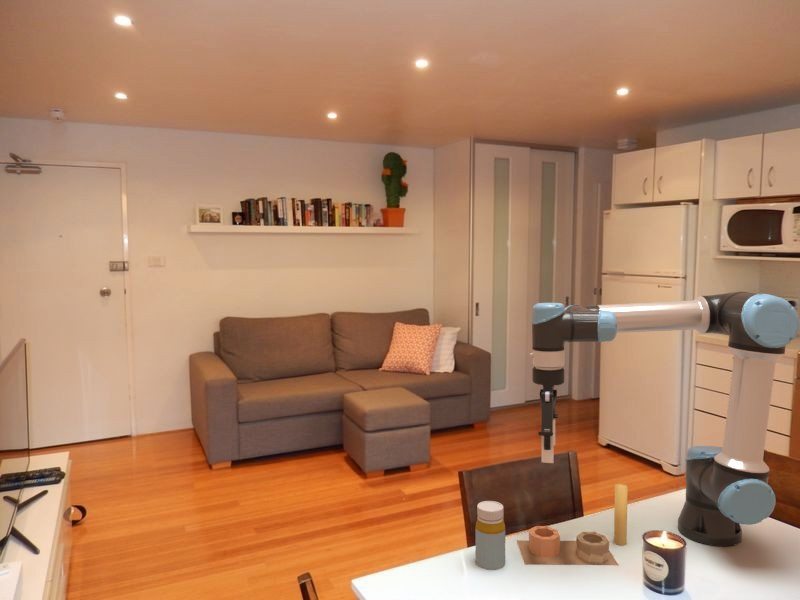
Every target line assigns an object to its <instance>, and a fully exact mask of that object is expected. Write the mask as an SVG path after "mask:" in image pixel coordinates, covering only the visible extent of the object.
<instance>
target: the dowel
mask: <svg viewBox="0 0 800 600" xmlns="http://www.w3.org/2000/svg"><path fill="white" fill-rule="evenodd" d="M628 491H629V490H628V485H626V484H625V483H615V484H614V517H613V519H614V521H613V524H614V525H613V544H614V545H616V546H621V547H623V546H627V544H628V543H627V541H628V540H627V537H628V534H627V533H628Z"/></svg>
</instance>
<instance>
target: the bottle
mask: <svg viewBox="0 0 800 600" xmlns="http://www.w3.org/2000/svg"><path fill="white" fill-rule="evenodd" d="M476 506H477V508H476V510H477V511H476V512H477V513H476V514H477V515H476V516H477V520H476V521H475V527H474V528H475V565H476V566H478V567H479V568H480V569H484V570H489V571H496V570H500V569H502V568H504V567H505V565H506V525H505V524H506V523H505V522H504V515H505V514H504V512H505V511H504V505H503V504H502V503H500V502H499V501H494V500H484V501H480V502H479V503H477V505H476Z"/></svg>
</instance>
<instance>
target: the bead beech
mask: <svg viewBox="0 0 800 600" xmlns="http://www.w3.org/2000/svg"><path fill="white" fill-rule="evenodd" d="M575 537H576V540H575V541H576V554H577V556H578V558H579V559H580V560H582V561H585V562H587V563H590V564H603V563H605V562H606V561H607V560H609V551H610V541H609V539H608V538H607V536H606V535H604V534H601V533H598V532H596V531H582V532H580V533H578V534H576V535H575Z"/></svg>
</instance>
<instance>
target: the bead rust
mask: <svg viewBox="0 0 800 600" xmlns="http://www.w3.org/2000/svg"><path fill="white" fill-rule="evenodd" d="M528 540H529V549H530V551H531V553H532V554H535V555H537V556H540V557H554V556H556V555H557V554H559V553H560V541H561V534H560V532H559V531H558V529H556V528H553V527H550V526H549V525H548V526H547V525H544V526H543V525H535V526H534V527H531V528H529V529H528Z"/></svg>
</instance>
